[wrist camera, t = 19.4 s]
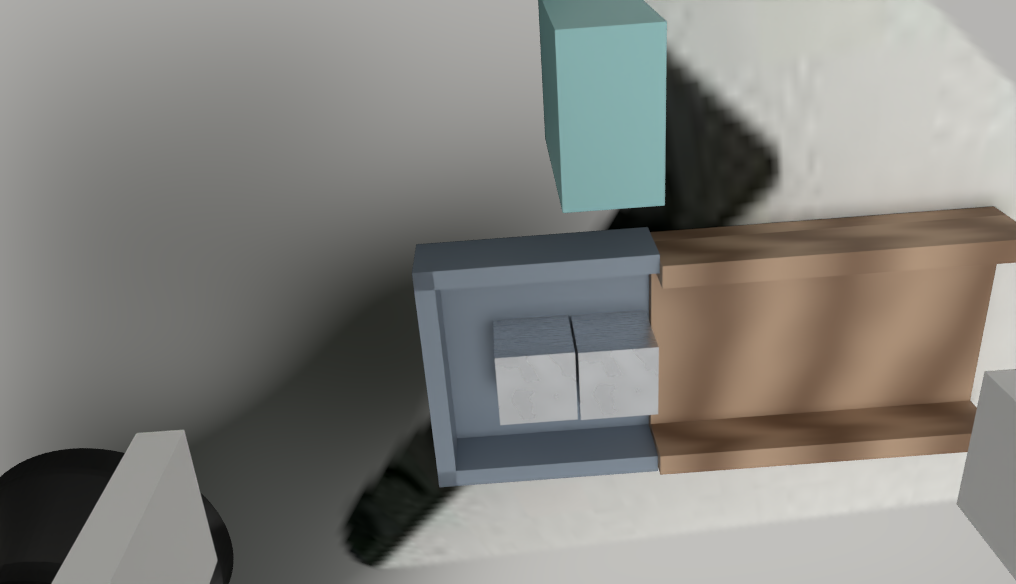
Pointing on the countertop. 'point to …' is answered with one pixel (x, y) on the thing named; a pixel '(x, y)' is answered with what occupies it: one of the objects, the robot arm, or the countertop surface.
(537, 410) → the grey cube
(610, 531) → the countertop surface
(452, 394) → the tray
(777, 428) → the channel
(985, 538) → the robot arm
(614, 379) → the light grey cube
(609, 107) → the upright teal block
